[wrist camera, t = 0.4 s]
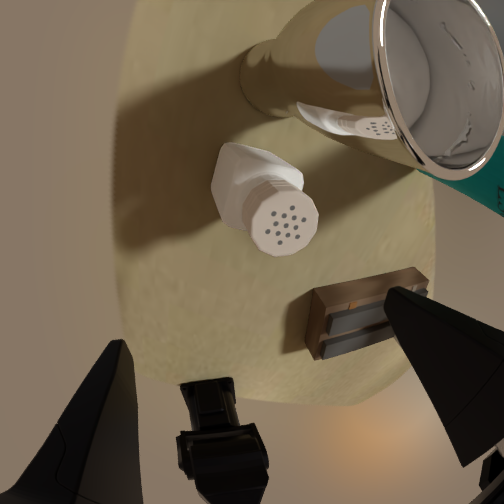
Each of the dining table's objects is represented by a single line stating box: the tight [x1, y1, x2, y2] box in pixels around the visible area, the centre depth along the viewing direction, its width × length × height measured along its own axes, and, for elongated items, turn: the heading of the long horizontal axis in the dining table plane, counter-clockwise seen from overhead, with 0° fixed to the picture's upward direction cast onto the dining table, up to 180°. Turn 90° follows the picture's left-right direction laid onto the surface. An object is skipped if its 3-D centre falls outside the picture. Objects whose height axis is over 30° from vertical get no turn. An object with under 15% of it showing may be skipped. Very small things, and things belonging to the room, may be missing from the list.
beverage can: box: [416, 136, 504, 217], centre depth 16 cm, size 6×6×15 cm
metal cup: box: [240, 0, 504, 181], centre depth 11 cm, size 7×7×15 cm
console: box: [305, 267, 429, 361], centre depth 30 cm, size 14×8×4 cm, turn 90°
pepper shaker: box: [211, 142, 319, 257], centre depth 16 cm, size 4×4×10 cm
